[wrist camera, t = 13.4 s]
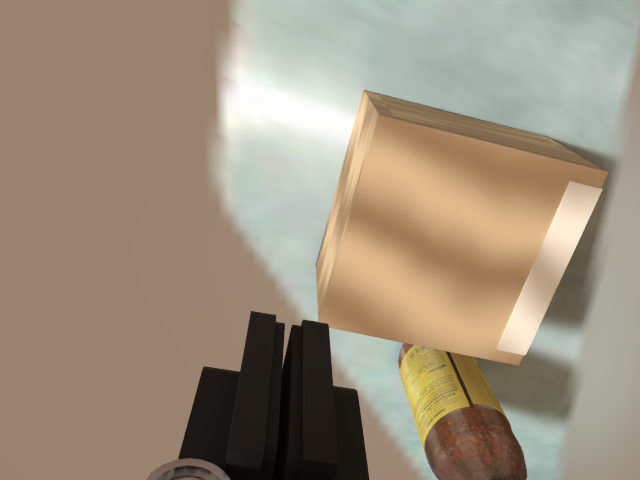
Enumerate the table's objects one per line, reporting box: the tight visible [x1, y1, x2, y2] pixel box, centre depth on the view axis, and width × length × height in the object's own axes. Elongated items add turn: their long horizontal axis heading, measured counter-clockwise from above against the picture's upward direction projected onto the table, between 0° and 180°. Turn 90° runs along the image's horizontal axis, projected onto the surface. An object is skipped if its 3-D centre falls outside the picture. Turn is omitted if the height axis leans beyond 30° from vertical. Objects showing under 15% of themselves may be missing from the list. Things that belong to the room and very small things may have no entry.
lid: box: [318, 112, 608, 366], centre depth 35 cm, size 14×14×1 cm
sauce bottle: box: [398, 343, 527, 480], centre depth 40 cm, size 7×6×20 cm
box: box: [316, 90, 599, 317], centre depth 40 cm, size 14×14×8 cm
